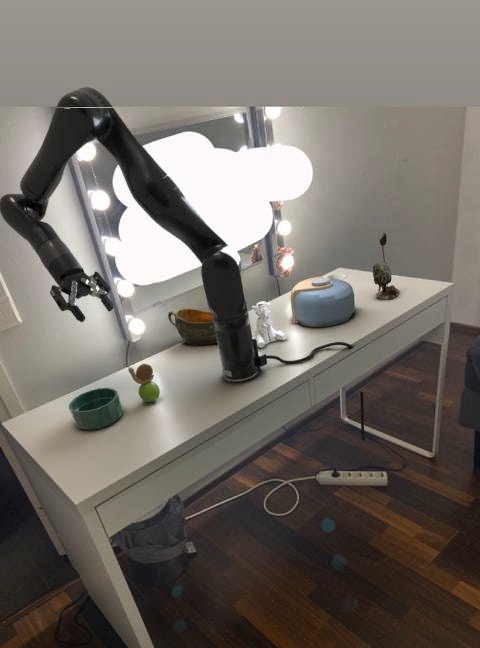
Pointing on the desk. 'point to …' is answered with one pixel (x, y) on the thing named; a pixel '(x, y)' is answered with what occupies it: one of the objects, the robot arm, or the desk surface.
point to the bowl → (96, 408)
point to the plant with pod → (383, 276)
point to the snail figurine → (145, 382)
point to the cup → (194, 326)
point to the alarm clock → (322, 302)
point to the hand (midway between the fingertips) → (97, 314)
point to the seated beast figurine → (265, 326)
